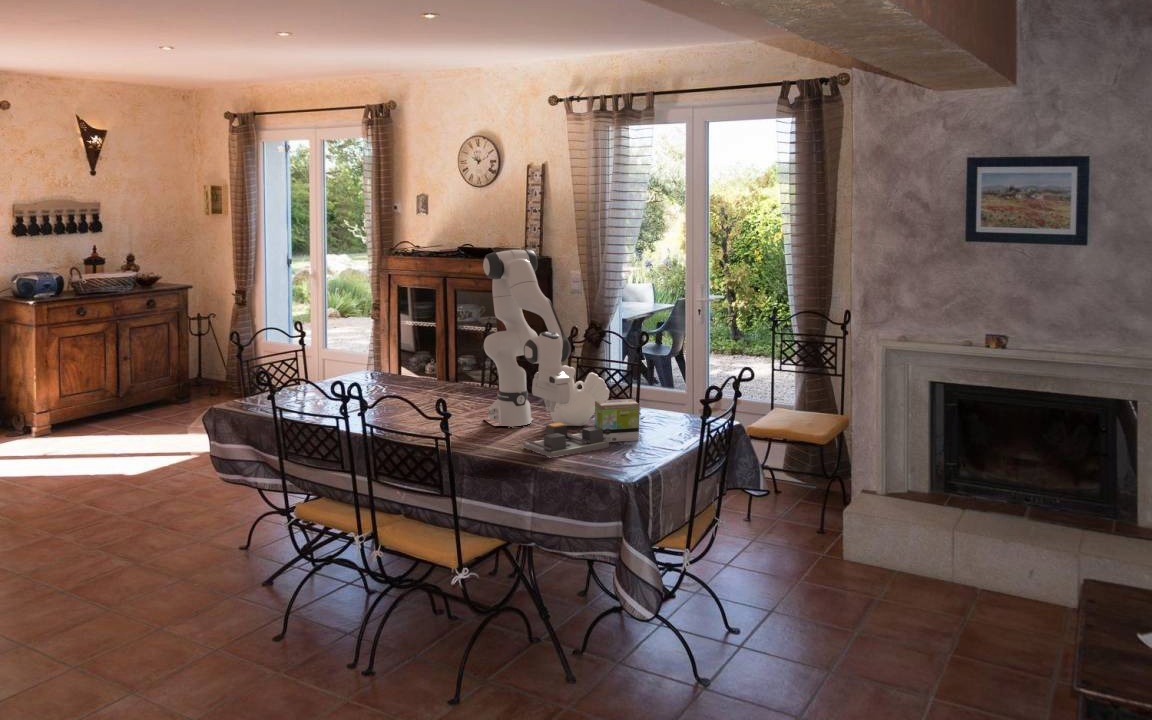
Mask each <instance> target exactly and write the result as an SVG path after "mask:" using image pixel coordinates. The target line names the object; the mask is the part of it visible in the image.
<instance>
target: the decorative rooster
mask: <svg viewBox="0 0 1152 720" xmlns="http://www.w3.org/2000/svg"><path fill="white" fill-rule="evenodd" d="M562 371H563V372H564V373H565V374H566V375H567V376H569V377H570V382H569V383H568V384H569V387H570V400H569V402H568V403H566V404H559V403H556V405H555V407H554V412H549V415H550V417H551V419H552V420H553V422H554V423H562V424H565V425H567V427H568V426H569V427H571V426H574V427H577V426H578V427H582V426H584V425H586V424H587V423H588V422H589V421H590V419H591V418H592V417H593V415H595V401H605V400H609V397H610V389H609V388H608V387H607V384H606V383H605V380H604V378H602V377H599V375H598V374H597V373H595V372H589V373H588V374H587V375H586V377H585V380H584V381H582V380H578V381H576V382H575V381H574V379H575V378H574V377H575V374H576V369H575V367H572V366H569V365H562ZM579 385H581V386H582V388H580V389H578V386H579ZM550 404H551V403H550Z"/></svg>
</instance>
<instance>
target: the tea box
mask: <svg viewBox="0 0 1152 720" xmlns="http://www.w3.org/2000/svg"><path fill="white" fill-rule="evenodd" d="M594 426H595V427H599V428H602V429H603V437H605V440H604V441H607V442H609V443H616V442H617V443H618V442H638V441H639V439H640V403H638V402H637V401H636V400H634V399H632V398H627V399H626V398H625V399H611V400H609V399H608V400H605V401H595V413H594Z"/></svg>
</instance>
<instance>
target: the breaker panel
mask: <svg viewBox="0 0 1152 720" xmlns="http://www.w3.org/2000/svg"><path fill="white" fill-rule="evenodd" d="M542 438H543V439H541V440H535V441H533V440H530V439H527V440H526V443H523V448H524V447H526V448H529V449H532V450H534V451H537V452H540V453H543V454H545V455H548V456H550V457H552V456H559V455H566V454H573V453H578V454H580V453H579V452H583V453H586V452H585V451H588V452H592V451H591V450H593V451H597V450H596V449H598V450H602V449H607V448H609V447H610V442H607V441H604V440H605V437H603V429H602V428H599V427H595V425H594V426H589V427H584V428H583V427H582V428H581V430H580V431H579V433H574V434H570V433H567V438H570V439H573V440H568V441H566V436H565V435H562V434H559V433H556V434H550V435H544V436H543V437H542ZM573 455H574V454H573Z"/></svg>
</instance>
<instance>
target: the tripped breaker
mask: <svg viewBox="0 0 1152 720" xmlns="http://www.w3.org/2000/svg"><path fill="white" fill-rule="evenodd" d="M545 428H546V429H545V430H546V433H545V434H546V435H550V434H556V433H559V434H562V435H565V436H566V441H568V440H573V439H570V438H567V434H568V425H565V424H562V423H555V422H554V423H548V424H547V425H546V427H545ZM540 439H541V440H544V439H543V437H541V438H540Z"/></svg>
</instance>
